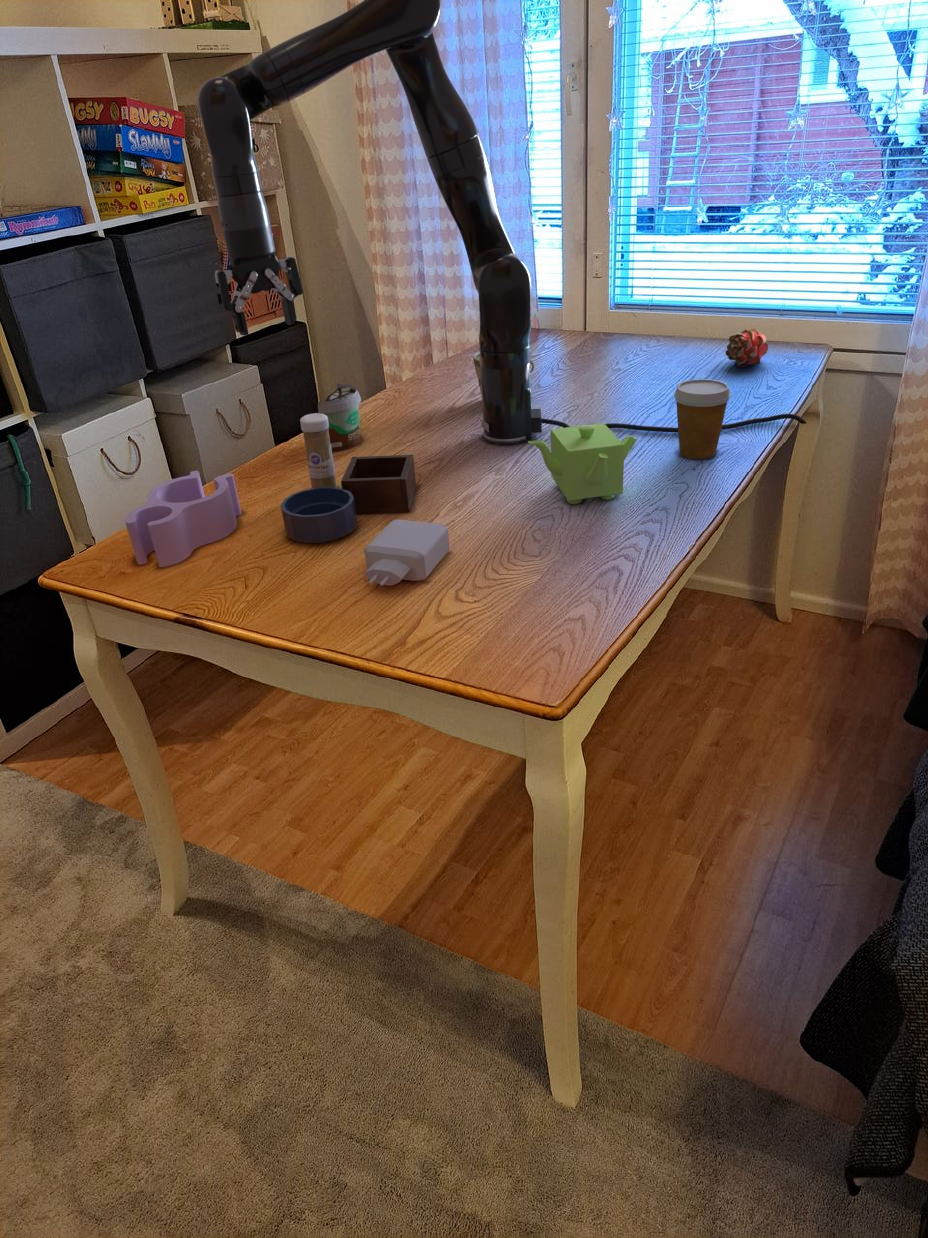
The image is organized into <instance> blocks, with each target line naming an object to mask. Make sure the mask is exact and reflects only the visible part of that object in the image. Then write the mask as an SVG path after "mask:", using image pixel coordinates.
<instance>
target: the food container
mask: <svg viewBox="0 0 928 1238" xmlns="http://www.w3.org/2000/svg"><path fill="white" fill-rule="evenodd" d="M336 387H337V388H336V389H335V391H334V392H331V393H330V394H328V396H327V397H326V399H325V400H324V401H317V411H318V412H317V413H319V414H324V415H326V416H327V417H328V423H329V427H328V428H329V437H330V443H331V448H332V452H338V451H345V450H348V449H351V448H353V447H356V446H358V445H359V444H360V443H361V432H360V414H359V413H360V412H359V405H360V404H361V402H362V398H361V394H360V391H359V390H358V389H357V387H356V386H354V385H352V384H347V383H336Z"/></svg>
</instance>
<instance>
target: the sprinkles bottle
mask: <svg viewBox="0 0 928 1238" xmlns="http://www.w3.org/2000/svg"><path fill="white" fill-rule="evenodd" d="M299 422H300V430H301V431H302V435H303V440H304V447H305V454H306V463H307V468H308V469H307V470H308V475H309V478H310V479H309V480H310V484H311V488H316V487H337V488H339V486H338V484H337V477H336V469H335V462H334V456H333V451H332V448H331V443H330V437H329V428H328V427H329V423H328V417H327V416H326V415H324V414H320V413H318V412H315V413H308V414H305V415H303V416H302V417H301V418H300V419H299Z"/></svg>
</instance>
